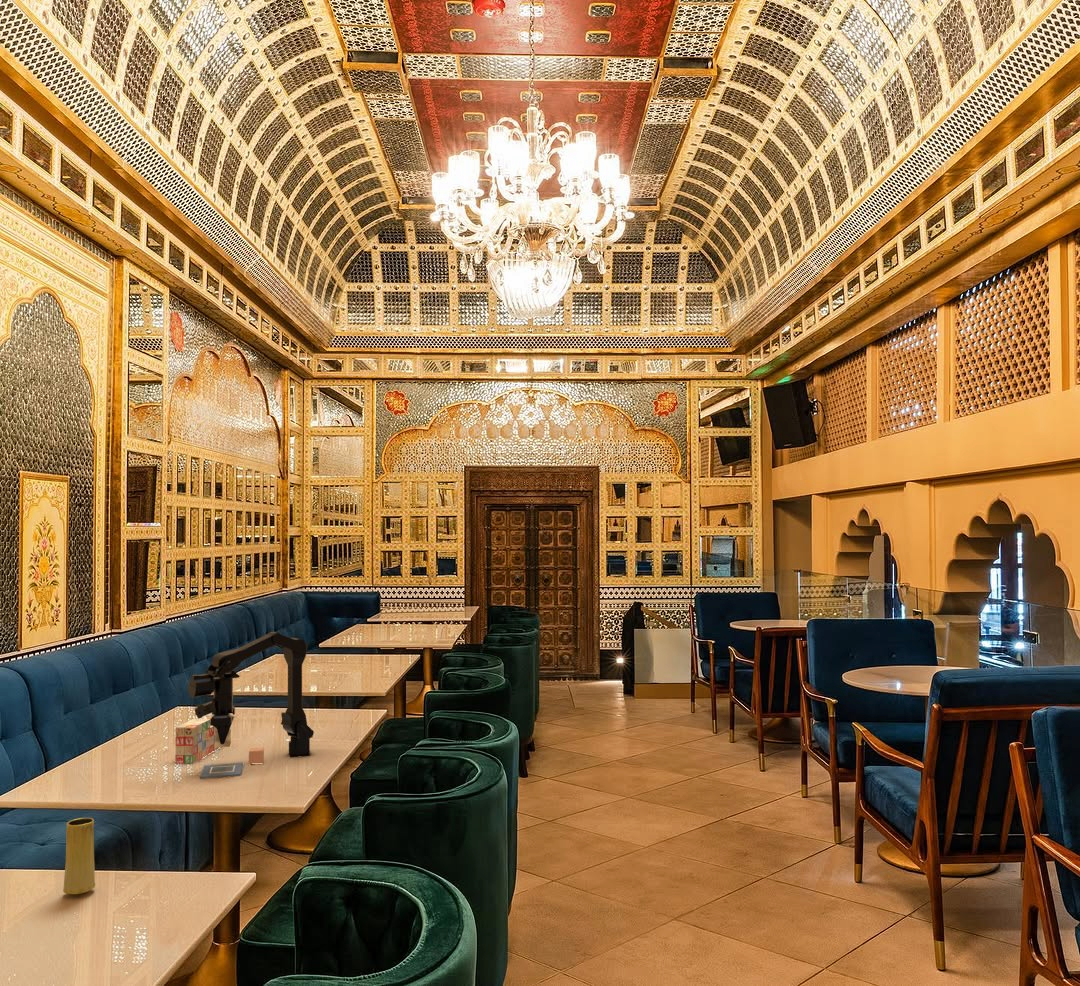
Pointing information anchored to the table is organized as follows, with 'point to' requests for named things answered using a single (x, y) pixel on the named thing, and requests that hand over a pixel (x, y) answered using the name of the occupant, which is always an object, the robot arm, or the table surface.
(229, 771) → the board
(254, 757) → the terracotta block
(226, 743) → the maple block
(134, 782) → the table surface
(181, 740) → the stack of blocks
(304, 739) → the robot arm
